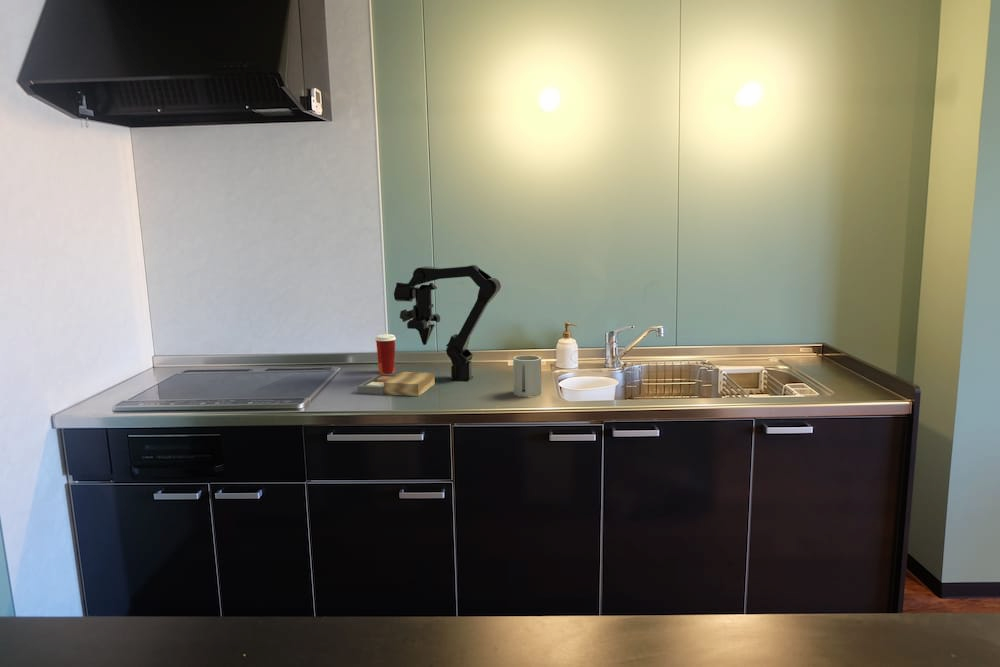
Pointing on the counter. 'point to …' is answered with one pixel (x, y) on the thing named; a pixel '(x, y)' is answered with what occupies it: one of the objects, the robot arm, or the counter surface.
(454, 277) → the robot arm
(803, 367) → the counter surface
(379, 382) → the off-white tile
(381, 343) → the paper cup
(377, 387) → the box
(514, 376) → the cup
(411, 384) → the wooden flat block
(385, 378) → the terracotta tile
